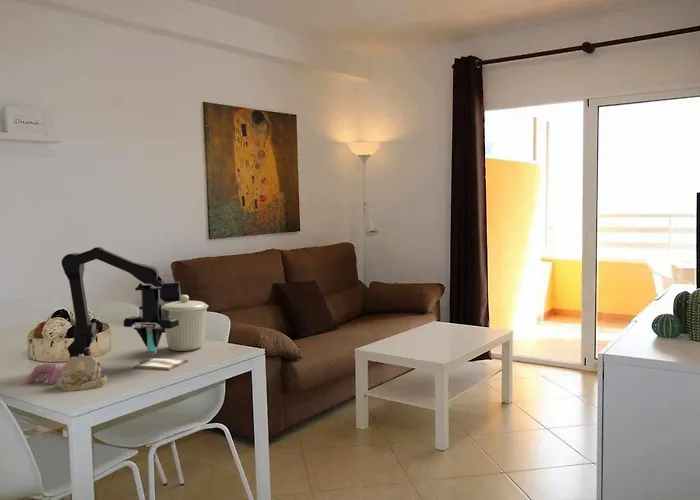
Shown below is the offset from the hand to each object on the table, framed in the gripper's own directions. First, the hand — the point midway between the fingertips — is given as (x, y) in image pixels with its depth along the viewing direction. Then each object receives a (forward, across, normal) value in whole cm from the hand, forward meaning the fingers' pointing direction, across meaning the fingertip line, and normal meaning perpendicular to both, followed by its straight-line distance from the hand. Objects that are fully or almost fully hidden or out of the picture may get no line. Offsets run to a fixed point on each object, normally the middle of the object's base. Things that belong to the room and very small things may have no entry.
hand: (151, 346), depth 214 cm
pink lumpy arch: (+7, +20, +28) cm, 35 cm away
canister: (+6, +1, -25) cm, 25 cm away
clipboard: (+6, -4, 0) cm, 7 cm away
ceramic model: (+7, +6, +28) cm, 29 cm away
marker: (+2, 0, 0) cm, 3 cm away
